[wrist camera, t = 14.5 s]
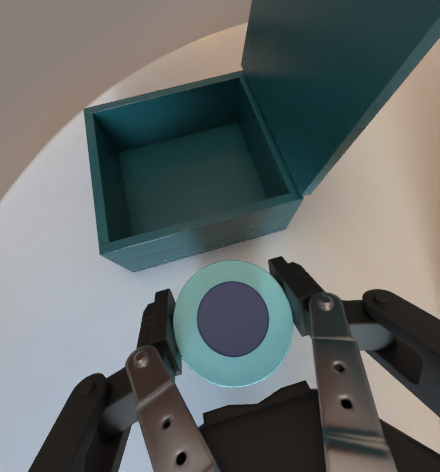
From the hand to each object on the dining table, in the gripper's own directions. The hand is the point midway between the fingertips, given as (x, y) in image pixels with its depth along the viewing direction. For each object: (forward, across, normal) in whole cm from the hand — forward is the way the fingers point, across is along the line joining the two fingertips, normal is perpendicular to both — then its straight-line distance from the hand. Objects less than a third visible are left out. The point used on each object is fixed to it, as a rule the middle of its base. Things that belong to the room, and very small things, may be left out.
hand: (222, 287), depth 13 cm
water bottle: (+4, 0, +6) cm, 7 cm away
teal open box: (+15, 0, -2) cm, 15 cm away
